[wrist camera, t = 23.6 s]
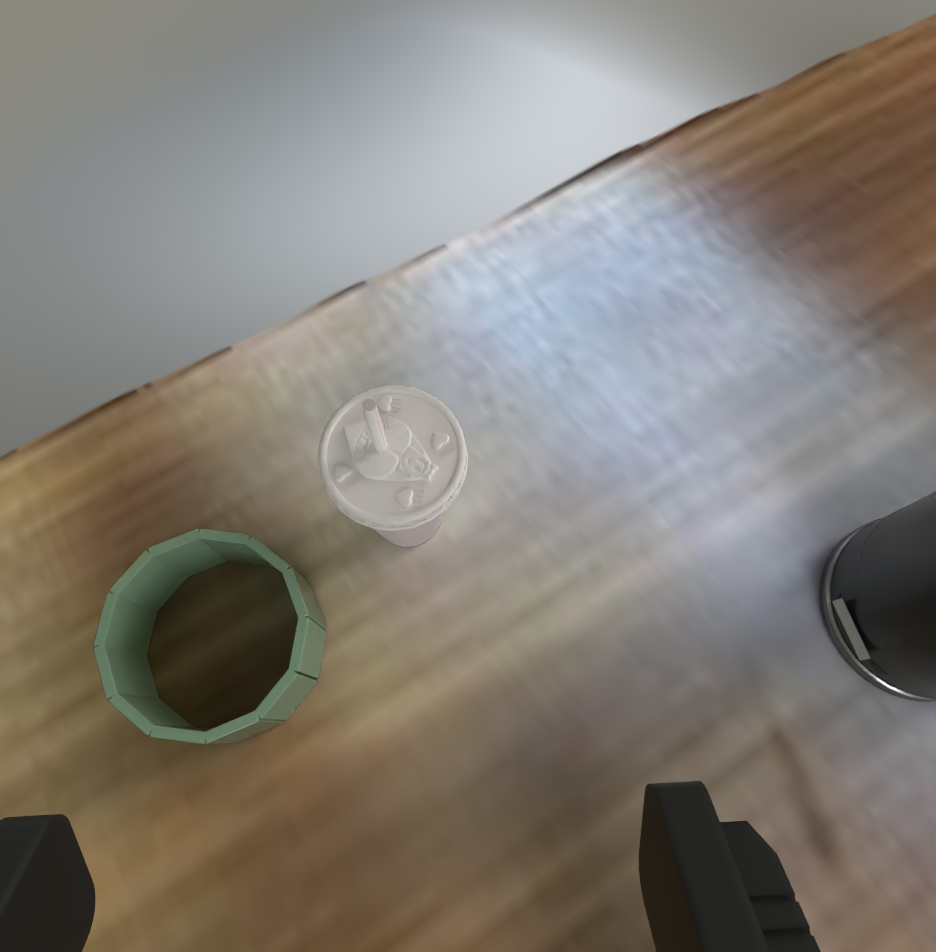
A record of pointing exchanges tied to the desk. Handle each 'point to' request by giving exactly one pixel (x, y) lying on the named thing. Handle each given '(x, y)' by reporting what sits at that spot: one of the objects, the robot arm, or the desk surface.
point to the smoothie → (394, 462)
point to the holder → (134, 619)
